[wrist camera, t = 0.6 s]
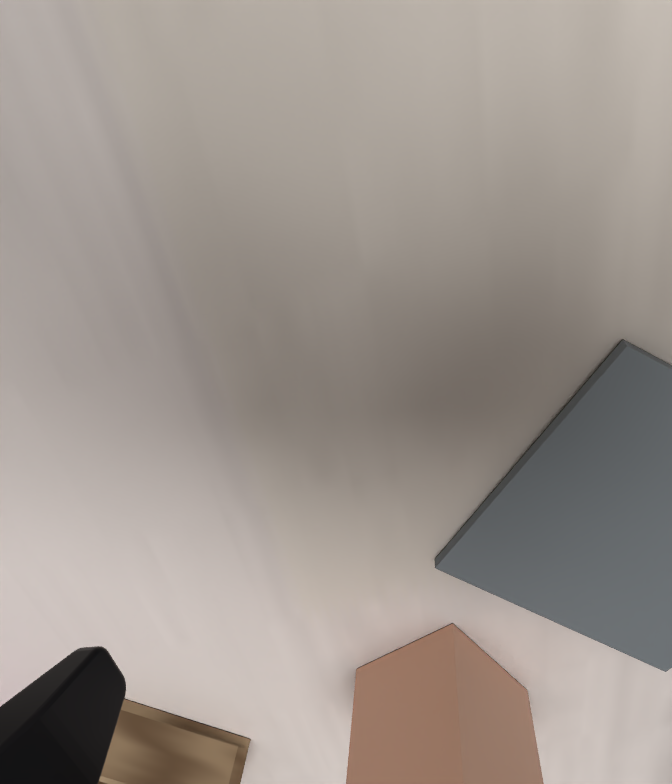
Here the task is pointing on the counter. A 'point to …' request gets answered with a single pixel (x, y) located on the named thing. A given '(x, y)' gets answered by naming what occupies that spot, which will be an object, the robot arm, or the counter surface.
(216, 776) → the open box
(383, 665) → the tall salmon pink block
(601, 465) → the mat
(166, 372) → the counter surface
